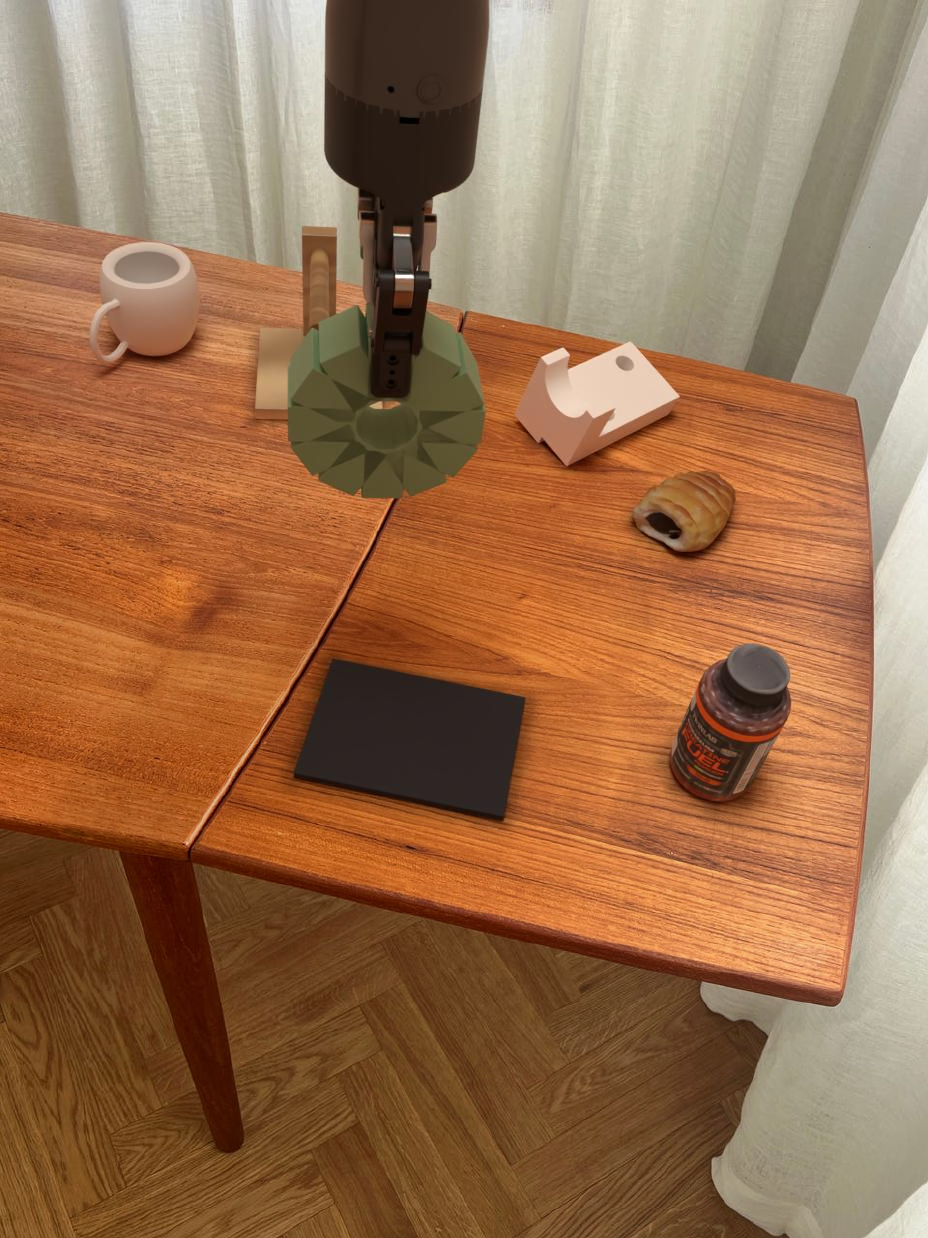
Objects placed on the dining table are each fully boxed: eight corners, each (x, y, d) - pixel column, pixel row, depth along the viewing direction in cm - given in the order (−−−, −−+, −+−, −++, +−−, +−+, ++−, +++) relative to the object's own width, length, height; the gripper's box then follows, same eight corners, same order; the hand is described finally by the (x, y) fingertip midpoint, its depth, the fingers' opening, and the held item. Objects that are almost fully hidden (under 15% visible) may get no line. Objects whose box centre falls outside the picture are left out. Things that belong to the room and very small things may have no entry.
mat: (293, 777, 73) (293, 772, 72) (332, 663, 80) (332, 657, 79) (502, 821, 72) (503, 816, 72) (524, 702, 79) (525, 696, 78)
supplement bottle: (650, 770, 76) (691, 666, 68) (695, 719, 79) (740, 614, 71) (725, 822, 74) (777, 721, 65) (768, 767, 77) (823, 664, 69)
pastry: (686, 473, 97) (697, 439, 94) (751, 513, 95) (764, 479, 92) (623, 524, 92) (633, 490, 89) (690, 567, 89) (702, 534, 87)
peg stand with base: (382, 425, 97) (388, 312, 89) (255, 423, 96) (248, 307, 87) (377, 340, 106) (382, 228, 97) (260, 336, 104) (255, 223, 96)
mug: (151, 302, 106) (141, 226, 100) (222, 334, 104) (216, 259, 98) (60, 362, 99) (44, 284, 93) (135, 398, 97) (123, 320, 91)
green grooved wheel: (472, 499, 71) (495, 346, 62) (289, 497, 69) (286, 340, 61) (466, 458, 74) (487, 306, 65) (289, 455, 72) (286, 299, 63)
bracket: (562, 472, 97) (593, 418, 91) (514, 414, 99) (540, 357, 92) (663, 420, 103) (699, 366, 97) (616, 366, 105) (647, 310, 99)
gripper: (322, 3, 56) (320, 298, 69) (327, 135, 47) (324, 447, 60) (468, 13, 58) (440, 302, 70) (501, 144, 48) (462, 449, 61)
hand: (387, 368), depth 65 cm, fingers closed on green grooved wheel, 4 cm apart
